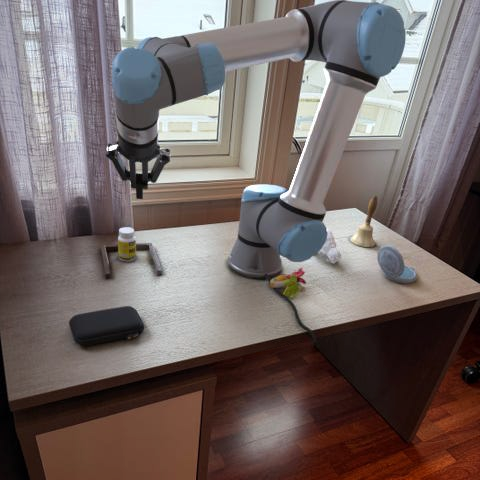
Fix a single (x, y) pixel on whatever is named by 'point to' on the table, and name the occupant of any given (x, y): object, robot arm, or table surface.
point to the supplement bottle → (127, 244)
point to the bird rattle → (289, 283)
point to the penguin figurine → (330, 248)
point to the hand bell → (366, 228)
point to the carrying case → (106, 325)
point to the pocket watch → (394, 265)
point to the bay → (138, 247)
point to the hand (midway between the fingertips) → (139, 193)
